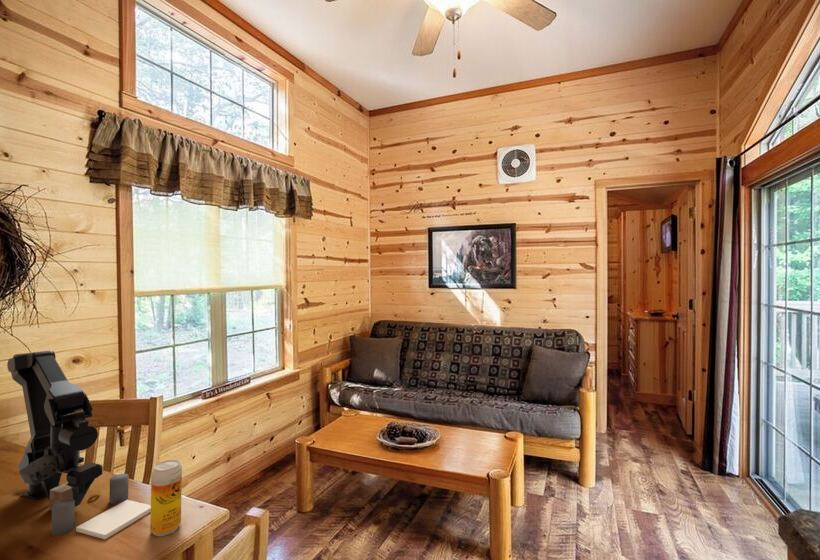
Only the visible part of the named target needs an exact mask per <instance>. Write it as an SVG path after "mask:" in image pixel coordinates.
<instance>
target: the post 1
mask: <svg viewBox="0 0 820 560" xmlns="http://www.w3.org/2000/svg"><path fill="white" fill-rule="evenodd" d="M75 508H76V507H75V500H74V499H67V500H62V501H59V502H57V503H55V504H54V505H53V506H52V510H51V525H50V527H51V531H50V533H51V536H61V535H64V534H67V533H69V532H71V531H73V530H74V528H75V520H76V519H75V515H76V513H75V510H76V509H75Z"/></svg>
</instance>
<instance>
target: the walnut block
mask: <svg viewBox="0 0 820 560" xmlns="http://www.w3.org/2000/svg"><path fill="white" fill-rule="evenodd" d="M67 483H68V481H67V482H65V483H63V484H60V486H58V487H55V488H53V489H51V490H50V500H49V511H52V506H53V505H54V504H55V503H57V502H59V501H62V500H67V499H73V493H72V487H70V486H67V485H66V484H67Z"/></svg>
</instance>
